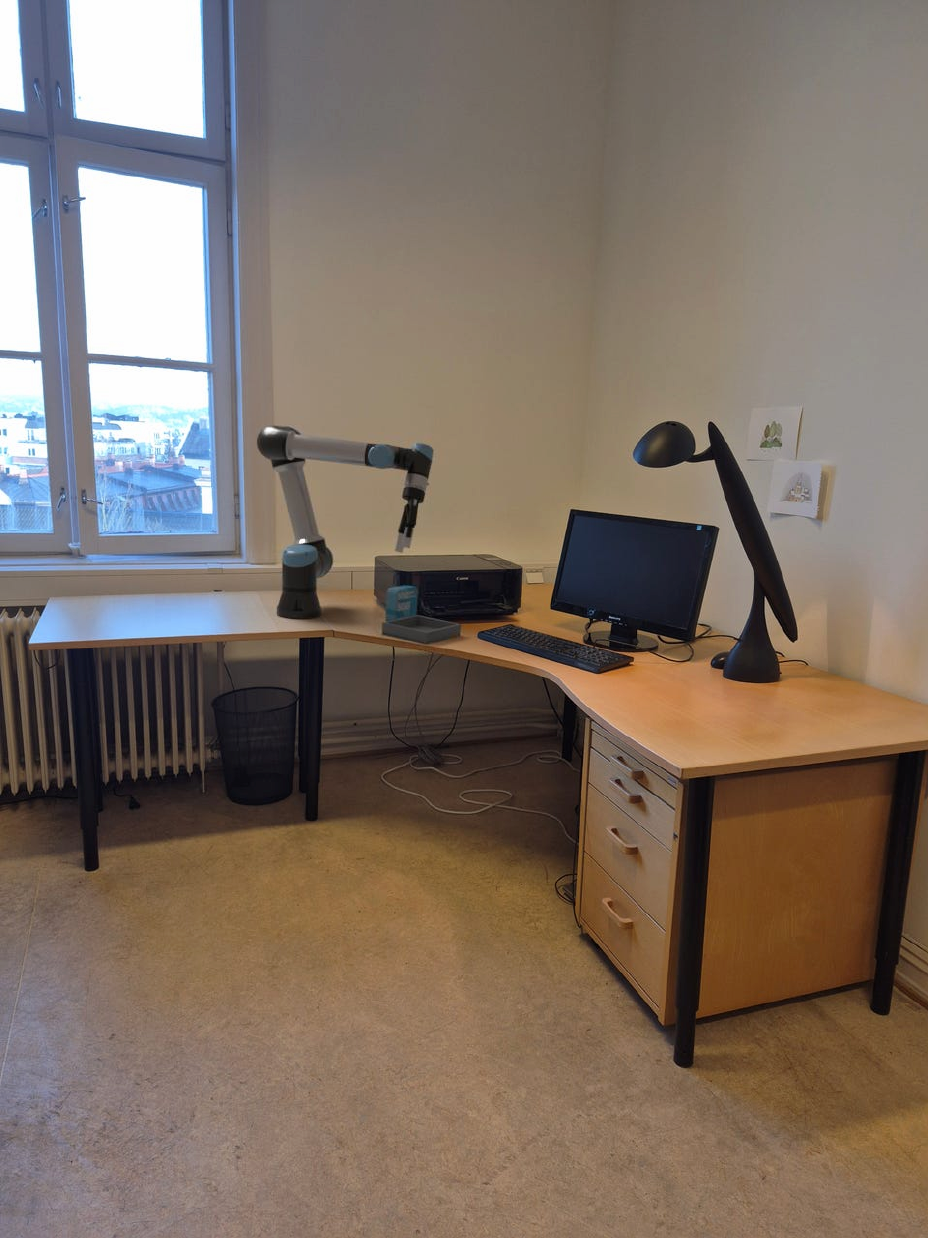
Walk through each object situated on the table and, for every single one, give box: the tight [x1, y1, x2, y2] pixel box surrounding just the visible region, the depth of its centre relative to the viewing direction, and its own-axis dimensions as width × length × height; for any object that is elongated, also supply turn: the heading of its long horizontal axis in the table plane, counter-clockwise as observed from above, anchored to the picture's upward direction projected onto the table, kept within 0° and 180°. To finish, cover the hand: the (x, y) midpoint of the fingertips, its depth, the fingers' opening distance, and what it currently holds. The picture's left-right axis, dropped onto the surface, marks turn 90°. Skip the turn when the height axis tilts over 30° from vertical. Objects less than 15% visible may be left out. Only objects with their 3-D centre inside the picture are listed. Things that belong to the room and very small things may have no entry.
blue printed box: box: [384, 585, 419, 622], centre depth 260 cm, size 12×4×12 cm, turn 147°
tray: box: [381, 614, 462, 646], centre depth 244 cm, size 18×18×4 cm
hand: (402, 549), depth 257 cm, fingers open, 13 cm apart
